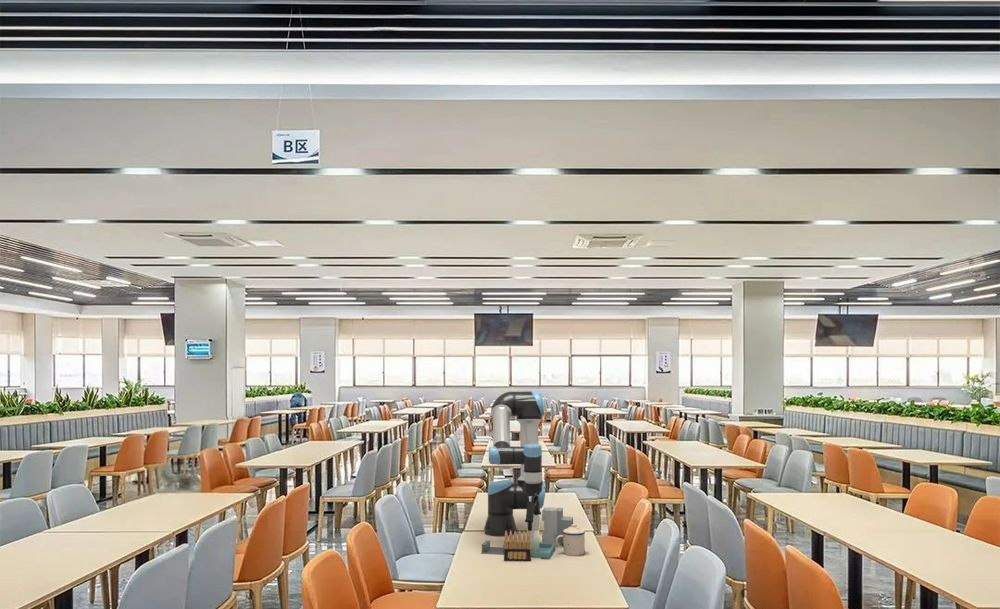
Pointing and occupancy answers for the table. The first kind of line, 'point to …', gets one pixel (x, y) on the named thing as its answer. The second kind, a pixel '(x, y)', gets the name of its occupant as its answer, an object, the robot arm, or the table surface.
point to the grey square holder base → (492, 549)
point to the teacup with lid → (573, 541)
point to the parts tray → (543, 551)
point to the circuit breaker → (554, 525)
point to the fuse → (535, 540)
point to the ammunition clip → (522, 549)
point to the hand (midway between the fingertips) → (533, 534)
